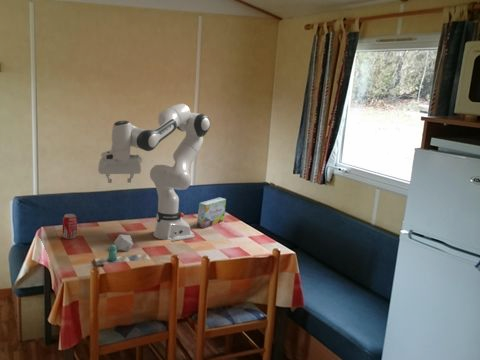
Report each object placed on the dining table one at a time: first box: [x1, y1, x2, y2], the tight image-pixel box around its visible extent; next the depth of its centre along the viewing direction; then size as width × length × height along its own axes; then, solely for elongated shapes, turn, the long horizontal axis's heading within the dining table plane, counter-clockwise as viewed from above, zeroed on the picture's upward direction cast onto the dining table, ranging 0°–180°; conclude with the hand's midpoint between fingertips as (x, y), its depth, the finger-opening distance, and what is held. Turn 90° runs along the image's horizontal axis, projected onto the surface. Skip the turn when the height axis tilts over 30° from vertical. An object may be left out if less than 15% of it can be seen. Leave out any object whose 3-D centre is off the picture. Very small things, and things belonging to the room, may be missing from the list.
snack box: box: [196, 196, 227, 229], centre depth 287 cm, size 21×6×15 cm, turn 147°
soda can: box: [62, 213, 78, 240], centre depth 244 cm, size 7×7×12 cm
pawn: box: [107, 243, 118, 262], centre depth 219 cm, size 4×4×8 cm
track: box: [92, 253, 151, 268], centre depth 222 cm, size 26×7×1 cm, turn 117°
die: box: [113, 233, 134, 252], centre depth 234 cm, size 8×9×10 cm
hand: (119, 182), depth 230 cm, fingers open, 8 cm apart
